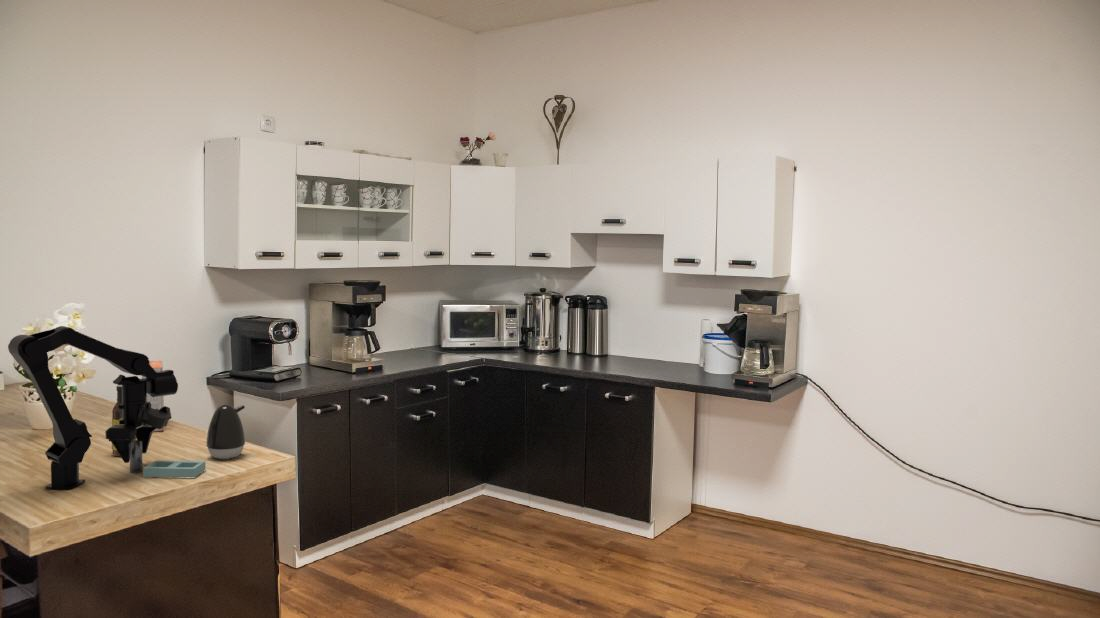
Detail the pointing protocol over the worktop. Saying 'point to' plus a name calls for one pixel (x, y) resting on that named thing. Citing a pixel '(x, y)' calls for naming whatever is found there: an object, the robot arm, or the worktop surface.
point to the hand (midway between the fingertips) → (135, 457)
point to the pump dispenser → (226, 432)
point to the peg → (136, 457)
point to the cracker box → (158, 401)
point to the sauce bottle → (117, 415)
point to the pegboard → (174, 469)
